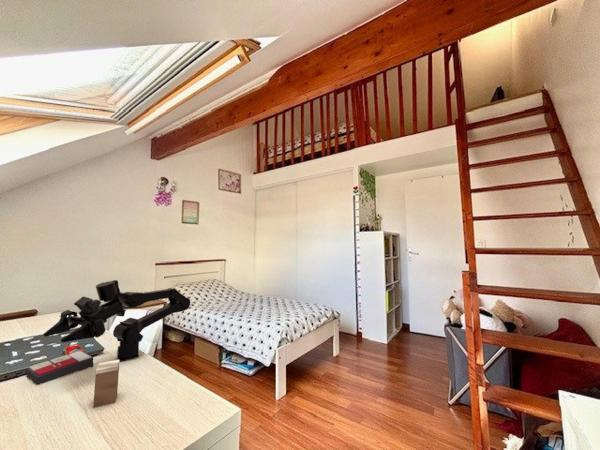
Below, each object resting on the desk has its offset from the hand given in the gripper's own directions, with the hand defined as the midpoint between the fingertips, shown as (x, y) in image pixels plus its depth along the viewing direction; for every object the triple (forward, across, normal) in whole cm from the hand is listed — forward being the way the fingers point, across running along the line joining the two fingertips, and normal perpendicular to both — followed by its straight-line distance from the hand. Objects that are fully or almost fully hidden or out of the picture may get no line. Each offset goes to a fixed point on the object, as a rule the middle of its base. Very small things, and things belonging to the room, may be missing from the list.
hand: (52, 338), depth 80 cm
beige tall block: (+2, +24, +14) cm, 28 cm away
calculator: (-3, -9, +18) cm, 21 cm away
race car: (-12, -20, +22) cm, 32 cm away
